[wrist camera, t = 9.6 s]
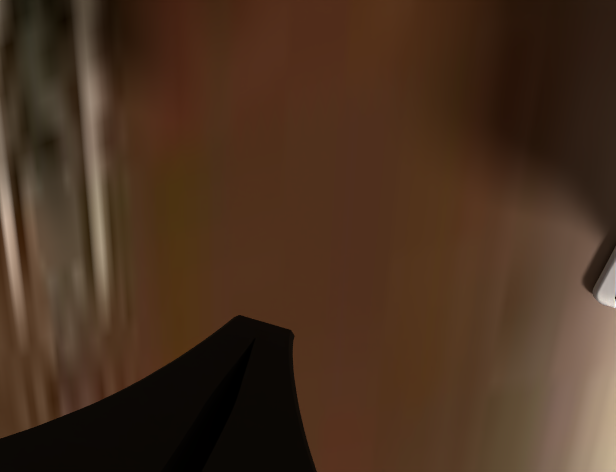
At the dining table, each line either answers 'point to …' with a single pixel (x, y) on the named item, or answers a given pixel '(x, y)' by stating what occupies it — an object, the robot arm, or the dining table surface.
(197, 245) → the dining table surface
